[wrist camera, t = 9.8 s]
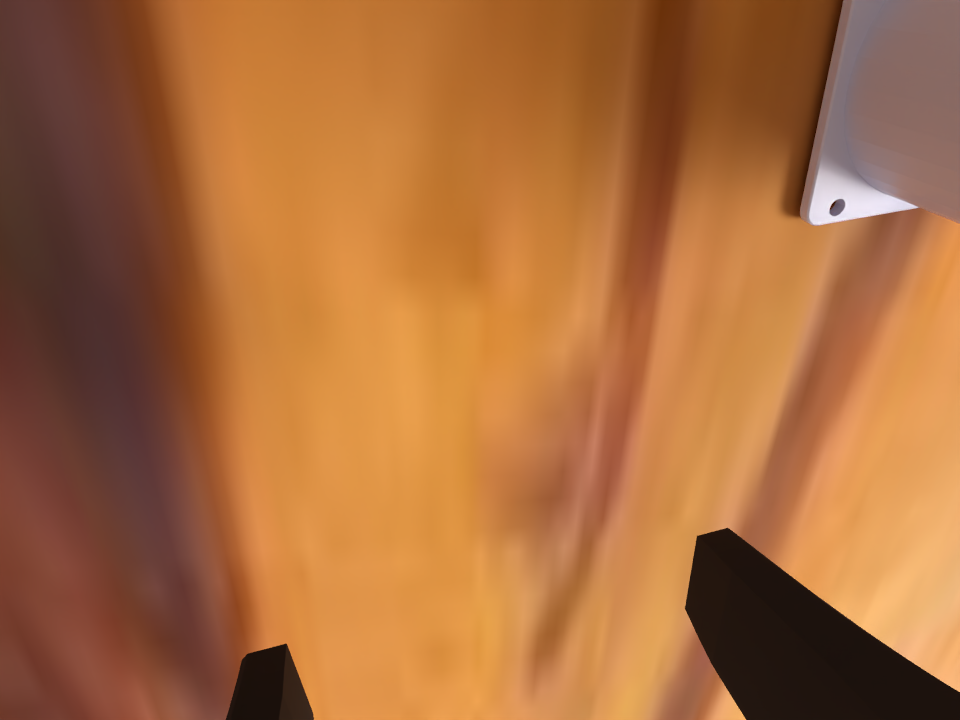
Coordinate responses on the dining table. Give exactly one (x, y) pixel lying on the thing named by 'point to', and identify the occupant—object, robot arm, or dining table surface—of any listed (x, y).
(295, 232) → the dining table surface
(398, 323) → the dining table surface
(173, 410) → the dining table surface
